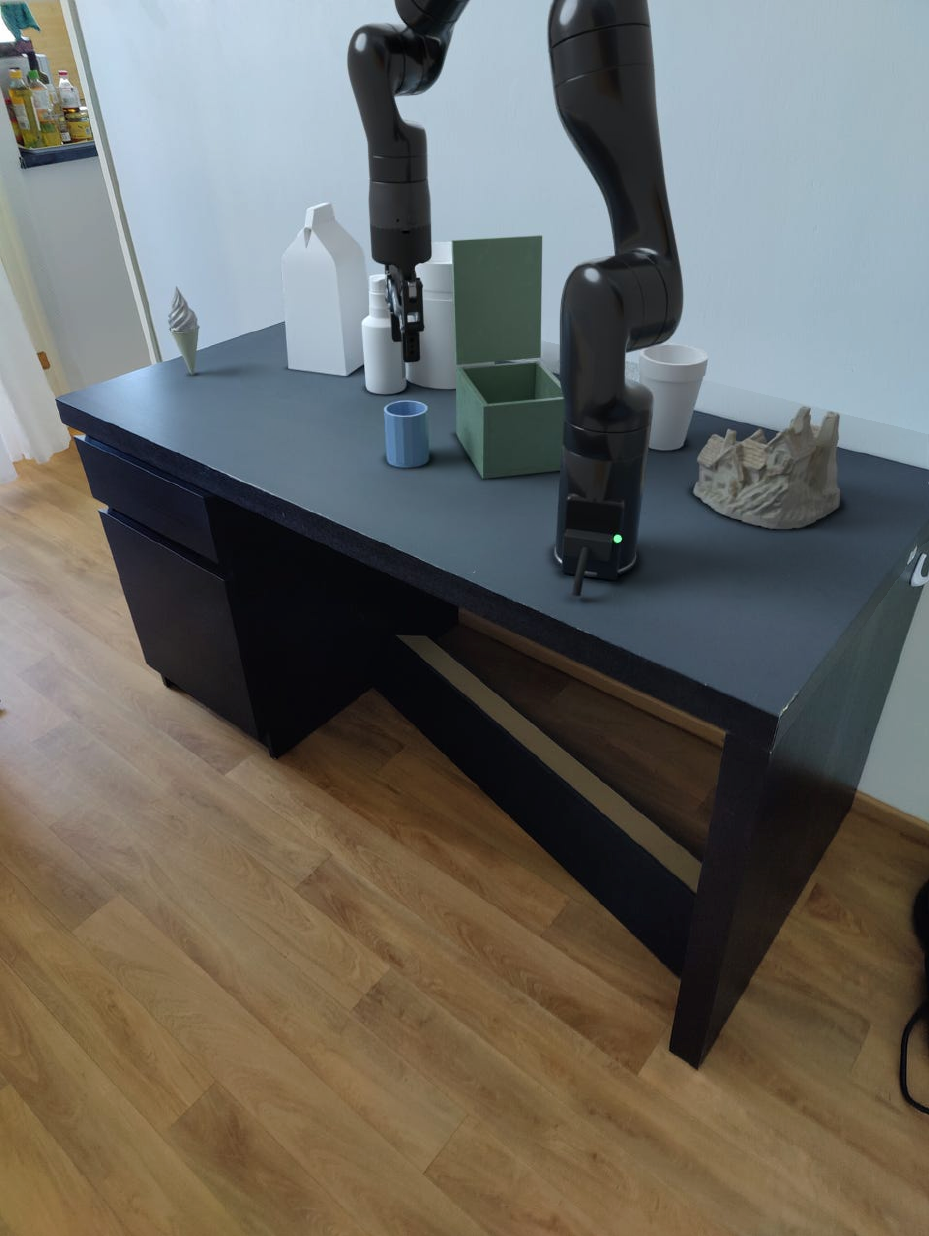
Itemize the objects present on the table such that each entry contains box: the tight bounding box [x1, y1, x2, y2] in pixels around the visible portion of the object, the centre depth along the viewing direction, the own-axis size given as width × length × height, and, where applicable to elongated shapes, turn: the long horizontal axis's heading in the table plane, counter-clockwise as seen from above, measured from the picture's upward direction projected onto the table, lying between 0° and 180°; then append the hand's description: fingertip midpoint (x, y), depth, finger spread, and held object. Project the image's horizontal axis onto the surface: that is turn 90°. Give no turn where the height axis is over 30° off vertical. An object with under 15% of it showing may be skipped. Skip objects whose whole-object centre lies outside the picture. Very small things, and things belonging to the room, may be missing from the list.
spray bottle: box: [362, 273, 407, 395], centre depth 144 cm, size 7×7×18 cm
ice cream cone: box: [167, 285, 200, 376], centre depth 151 cm, size 5×5×15 cm
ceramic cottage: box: [692, 405, 841, 530], centre depth 111 cm, size 16×16×15 cm
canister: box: [406, 241, 496, 390], centre depth 150 cm, size 16×16×20 cm
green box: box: [455, 360, 564, 480], centre depth 125 cm, size 16×13×10 cm
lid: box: [450, 234, 543, 365], centre depth 126 cm, size 16×13×5 cm
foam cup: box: [637, 343, 709, 451], centre depth 127 cm, size 10×9×13 cm
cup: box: [383, 399, 430, 469], centre depth 124 cm, size 6×6×8 cm
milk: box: [280, 202, 370, 377], centre depth 153 cm, size 12×12×26 cm
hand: (405, 350), depth 117 cm, fingers open, 8 cm apart
